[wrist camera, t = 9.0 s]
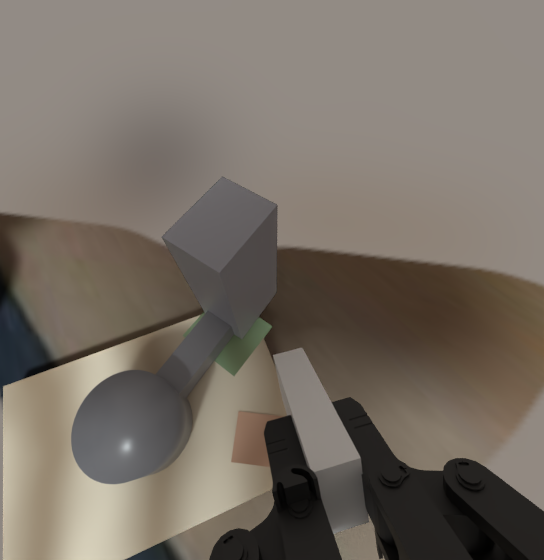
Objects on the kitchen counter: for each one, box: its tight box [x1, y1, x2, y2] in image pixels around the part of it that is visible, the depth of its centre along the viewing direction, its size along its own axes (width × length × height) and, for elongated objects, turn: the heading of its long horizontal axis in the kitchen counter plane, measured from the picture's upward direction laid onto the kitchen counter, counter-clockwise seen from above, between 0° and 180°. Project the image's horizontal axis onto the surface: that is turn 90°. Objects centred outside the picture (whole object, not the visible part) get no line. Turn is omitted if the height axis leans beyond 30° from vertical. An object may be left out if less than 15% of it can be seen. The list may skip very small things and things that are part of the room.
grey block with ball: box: [71, 177, 277, 484], centre depth 15 cm, size 14×5×9 cm, turn 146°
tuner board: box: [3, 312, 287, 560], centre depth 19 cm, size 17×12×1 cm
